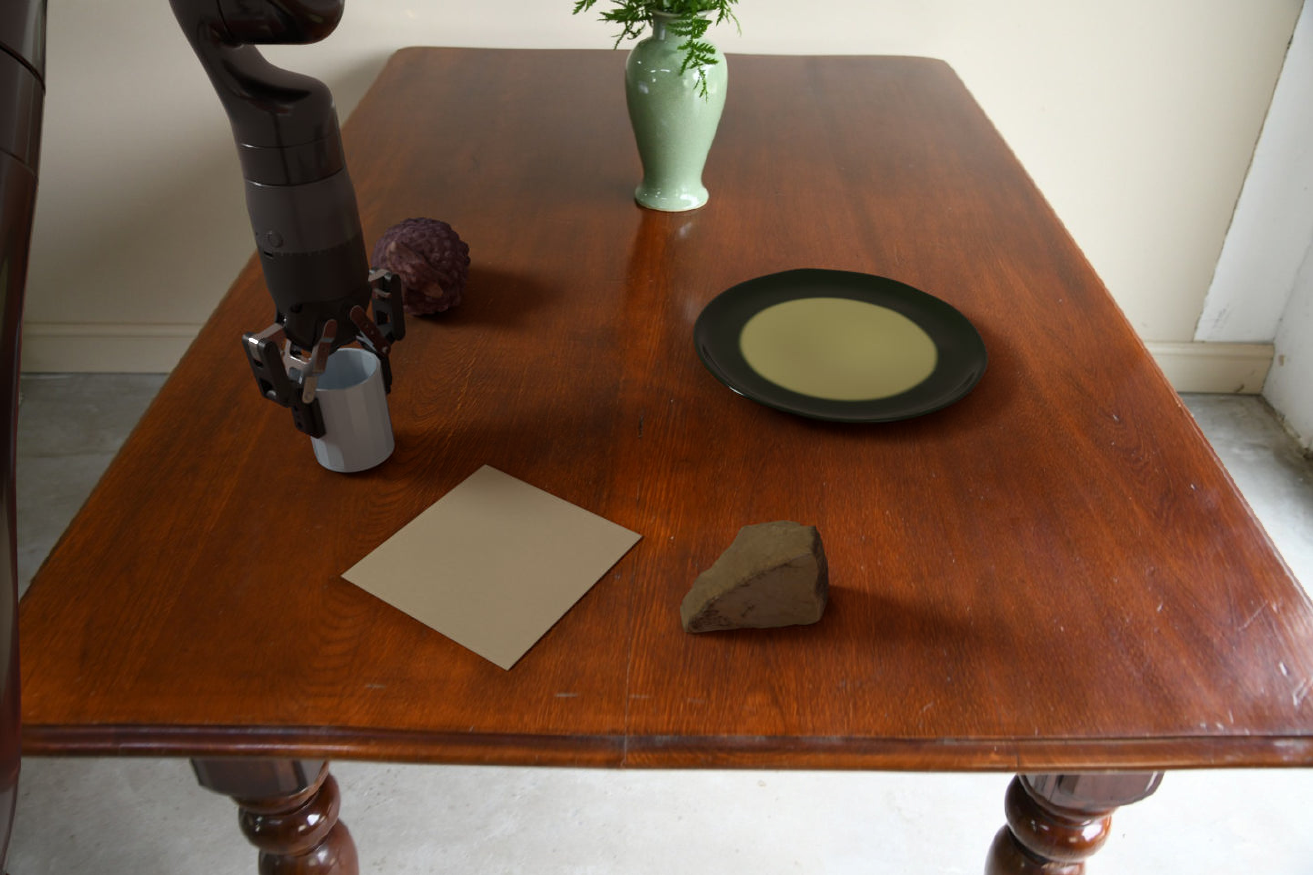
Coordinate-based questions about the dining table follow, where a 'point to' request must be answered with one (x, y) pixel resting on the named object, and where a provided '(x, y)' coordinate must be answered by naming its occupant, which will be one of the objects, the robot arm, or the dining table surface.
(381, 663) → the dining table surface
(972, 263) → the dining table surface
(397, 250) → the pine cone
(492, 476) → the mat
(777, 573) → the rock
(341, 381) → the cup
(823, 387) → the plate
